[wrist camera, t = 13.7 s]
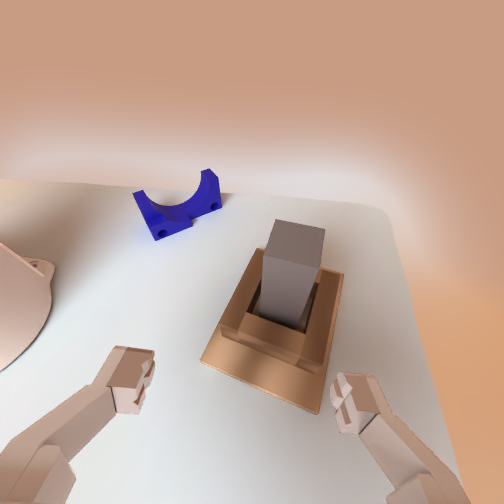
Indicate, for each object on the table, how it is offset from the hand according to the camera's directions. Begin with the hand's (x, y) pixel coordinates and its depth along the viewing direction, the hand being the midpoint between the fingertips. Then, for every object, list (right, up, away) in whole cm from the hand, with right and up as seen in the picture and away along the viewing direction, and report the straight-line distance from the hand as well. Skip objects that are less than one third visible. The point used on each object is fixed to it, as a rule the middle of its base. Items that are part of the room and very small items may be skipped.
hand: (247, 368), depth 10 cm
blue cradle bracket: (-10, +10, +29) cm, 32 cm away
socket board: (+3, -2, +18) cm, 18 cm away
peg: (+3, -2, +17) cm, 17 cm away
